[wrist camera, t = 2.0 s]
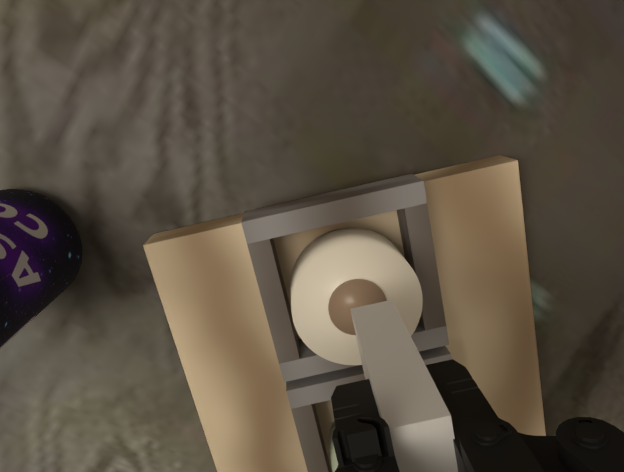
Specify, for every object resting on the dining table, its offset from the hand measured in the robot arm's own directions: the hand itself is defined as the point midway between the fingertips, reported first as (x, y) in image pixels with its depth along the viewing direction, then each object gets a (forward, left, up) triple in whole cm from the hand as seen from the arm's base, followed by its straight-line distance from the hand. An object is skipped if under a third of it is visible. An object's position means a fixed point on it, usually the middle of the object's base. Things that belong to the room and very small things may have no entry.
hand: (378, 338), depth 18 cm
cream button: (0, 0, -6) cm, 6 cm away
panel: (0, -8, -9) cm, 13 cm away
